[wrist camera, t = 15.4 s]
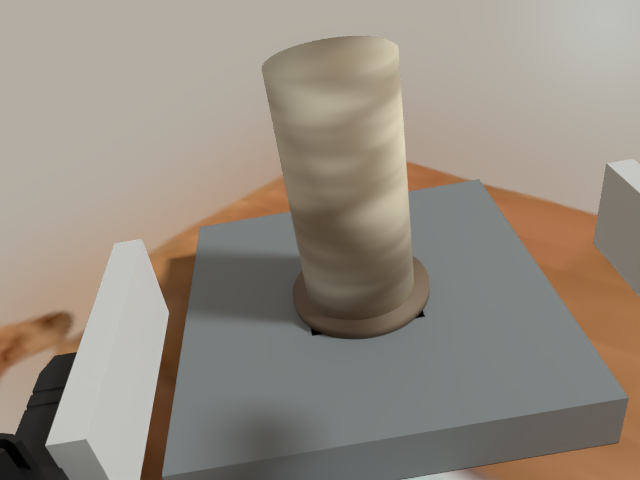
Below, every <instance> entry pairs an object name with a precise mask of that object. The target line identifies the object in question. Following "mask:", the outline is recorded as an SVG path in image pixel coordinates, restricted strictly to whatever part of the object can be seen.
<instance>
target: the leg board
mask: <svg viewBox="0 0 640 480" xmlns="http://www.w3.org/2000/svg"><path fill="white" fill-rule="evenodd" d="M408 198H409V212H410V227H411V241H412V255H413V256H414V257H416V258H417V259H418V260H419V261H420V262H421V263H422V264H423V266H424V267H425V269H426V271H427V273H428V277H429V290H430V292H429V298H428V301H427V304H426V306H425V308H424V309H423V311H422V312H421V313H420V314H419V315H418V316H417V317H416V318H415V319H414V320H413V321H412V322H410V323H409V324H408V325H406V326H404V327H402V328H401V329H399V330H396V331H394V332H392V333H389V334H386V335H383V336H379V337H374V338H368V339H341V338H335V337H331V336H327V335H324V334H321V335H315V330H314V329H312V328H310V327H309V326H308V325H306V324H305V323H304V322H303V321H302V320H301V318H300V317H299V315H298V313H297V311H296V308H295V304H294V299H293V287H294V283H295V281H296V278H297V277H298V275H299V273H300V272H301V271H302V266H301V261H300V256H299V251H298V246H297V241H296V236H295V231H294V226H293V221H292V216H291V212H286V213H280V214H274V215H268V216H262V217H256V218H251V219H245V220H239V221H233V222H227V223H221V224H216V225H210V226H204V227H200V231H199V238H198V244H197V251H196V257H195V264H194V270H193V277H192V283H191V290H190V296H189V302H188V309H187V315H186V322H185V328H184V335H183V341H182V348H181V354H180V361H179V367H178V374H177V380H176V387H175V393H174V400H173V406H172V412H171V419H170V425H169V432H168V438H167V445H166V451H165V458H164V464H163V471H162V479H163V480H399V479H405V478H411V477H417V476H423V475H429V474H435V473H441V472H447V471H453V470H459V469H465V468H471V467H476V466H482V465H488V464H494V463H500V462H506V461H512V460H518V459H524V458H530V457H536V456H542V455H548V454H554V453H559V452H565V451H571V450H577V449H583V448H589V447H595V446H601V445H607V444H613V443H619V439H620V435H621V430H622V426H623V421H624V417H625V412H626V408H627V403H628V399H629V397H628V396H627V395H626V393H625V392H624V390H623V389H622V387H621V386H620V384H619V383H618V381H617V380H616V378H615V377H614V376H613V374H612V373H611V371H610V370H609V368H608V367H607V365H606V364H605V362H604V361H603V360H602V358H601V357H600V355H599V354H598V352H597V351H596V349H595V348H594V346H593V345H592V343H591V342H590V341H589V339H588V338H587V336H586V335H585V333H584V332H583V330H582V329H581V327H580V326H579V325H578V323H577V322H576V320H575V319H574V317H573V316H572V314H571V313H570V311H569V310H568V308H567V307H566V306H565V304H564V303H563V301H562V300H561V298H560V297H559V295H558V294H557V292H556V291H555V290H554V288H553V287H552V285H551V284H550V282H549V281H548V279H547V278H546V276H545V275H544V273H543V272H542V271H541V269H540V268H539V266H538V265H537V263H536V262H535V260H534V259H533V257H532V256H531V255H530V253H529V252H528V250H527V249H526V247H525V246H524V244H523V243H522V241H521V240H520V238H519V237H518V236H517V234H516V233H515V231H514V230H513V228H512V227H511V225H510V224H509V222H508V221H507V220H506V218H505V217H504V215H503V214H502V212H501V211H500V209H499V208H498V206H497V205H496V203H495V202H494V201H493V199H492V198H491V196H490V195H489V193H488V192H487V190H486V189H485V187H484V186H483V185H482V183H481V182H480V180H479V179H478V180H473V181H467V182H461V183H455V184H449V185H443V186H437V187H432V188H426V189H420V190H414V191H408Z"/></svg>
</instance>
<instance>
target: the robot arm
mask: <svg viewBox="0 0 640 480" xmlns="http://www.w3.org/2000/svg"><path fill="white" fill-rule="evenodd" d="M593 244H594V245H595V246H596V247H597V248H598V250H599V251H600V252H601V253H602V254H603V255H604V257H605V258H606V259H607V260H608V261H609V262H610V264H611V265H612V266H613V267H614V268H615V269H616V270H617V272H618V273H619V274H620V275H621V276H622V277H623V279H624V280H625V281H626V282H627V283H628V284H629V286H630V287H631V288H632V289H633V290H634V291H635V293H636V294H637V295H638V296H639V297H640V164H639V163H638V162H636V161H635V160H634V159H629V160H623V161H618V162H612V163H607V164H606V169H605V175H604V181H603V187H602V193H601V199H600V205H599V211H598V217H597V223H596V229H595V235H594V241H593ZM168 317H169V311H168V309H167V306H166V303H165V300H164V298H163V295H162V292H161V290H160V287H159V284H158V281H157V279H156V276H155V273H154V271H153V268H152V265H151V262H150V260H149V257H148V254H147V252H146V249H145V246H144V243H143V241H142V239H139V240H133V241H127V242H121V243H115V244H114V247H113V250H112V253H111V256H110V258H109V261H108V264H107V267H106V270H105V273H104V276H103V279H102V282H101V285H100V287H99V290H98V293H97V296H96V299H95V302H94V305H93V308H92V311H91V314H90V317H89V320H88V322H87V325H86V328H85V331H84V334H83V337H82V340H81V343H80V346H79V349H78V351H77V352H75V353H69V354H63V355H57V356H54V357H53V359H52V360H51V361H50V362H49V363H48V364H47V366H46V367H45V368H44V369H43V370H42V371H41V373H40V374H39V377H38V379H37V382H36V384H35V387H34V389H33V395H31V397H30V399H29V402H28V404H27V410H25V412H24V414H23V417H22V419H21V422H20V424H19V427H18V429H17V432H16V434H15V435H13V434H5V433H0V480H140V476H141V470H142V465H143V459H144V453H145V448H146V442H147V436H148V431H149V425H150V419H151V413H152V408H153V402H154V396H155V391H156V385H157V379H158V374H159V368H160V362H161V357H162V351H163V345H164V339H165V334H166V328H167V322H168Z"/></svg>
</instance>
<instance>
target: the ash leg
mask: <svg viewBox="0 0 640 480" xmlns="http://www.w3.org/2000/svg"><path fill="white" fill-rule="evenodd" d="M262 73H263V77H264V82H265V87H266V92H267V97H268V102H269V107H270V112H271V117H272V121H273V127H274V132H275V137H276V142H277V147H278V152H279V156H280V162H281V167H282V172H283V177H284V182H285V186H286V191H287V196H288V201H289V206H290V211H291V216H292V221H293V226H294V231H295V236H296V241H297V246H298V251H299V256H300V261H301V266H302V271H301V272H300V273H299V275H298V277H297V278H296V281H295V283H294V287H293V299H294V304H295V308H296V311H297V313H298V315H299V317H300V318H301V320H302V321H303V322H304V323H305V324H306V325H308V326H309V327H310V328H312V329H314V330H315V331H317V332H319V333H322V334H324V335H327V336H331V337H335V338H341V339H368V338H374V337H379V336H383V335H386V334H389V333H392V332H394V331H396V330H399V329H401V328H402V327H404V326H406V325H408V324H409V323H410V322H412V321H413V320H414V319H415V318H416V317H417V316H418V315H419V314H420V313H421V312H422V311H423V309H424V308H425V306H426V304H427V301H428V298H429V292H430V290H429V277H428V273H427V271H426V269H425V267H424V266H423V264H422V263H421V262H420V261H419V260H418V259H417V258H416V257H414V256H413V255H412V241H411V227H410V212H409V198H408V183H407V169H406V154H405V140H404V126H403V112H402V96H401V82H400V67H399V53H398V47H397V45H396V44H395V43H393V42H392V41H389V40H387V39H383V38H378V37H369V36H347V37H337V38H328V39H322V40H317V41H312V42H308V43H304V44H300V45H297V46H294V47H291V48H288V49H286V50H283V51H281V52H279V53H277V54H275V55H273V56H272V57H270V58H269V59H268V60H267V61H265V63H264V64H263V66H262Z"/></svg>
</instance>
